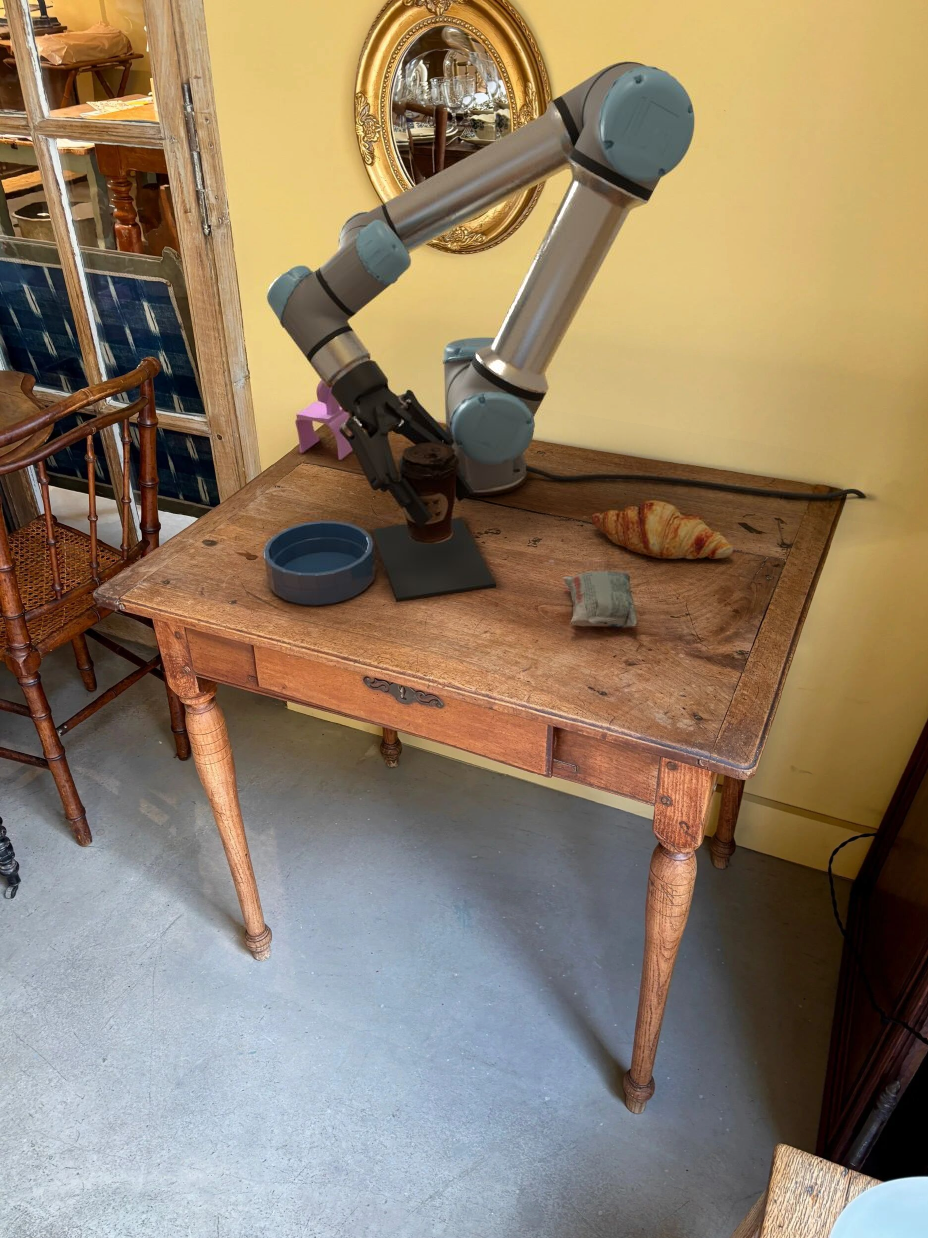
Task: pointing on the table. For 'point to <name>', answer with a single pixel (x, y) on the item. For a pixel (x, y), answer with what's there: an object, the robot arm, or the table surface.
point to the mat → (432, 563)
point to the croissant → (661, 532)
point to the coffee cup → (431, 488)
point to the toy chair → (322, 421)
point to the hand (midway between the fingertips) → (446, 509)
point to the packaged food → (602, 599)
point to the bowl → (320, 562)
